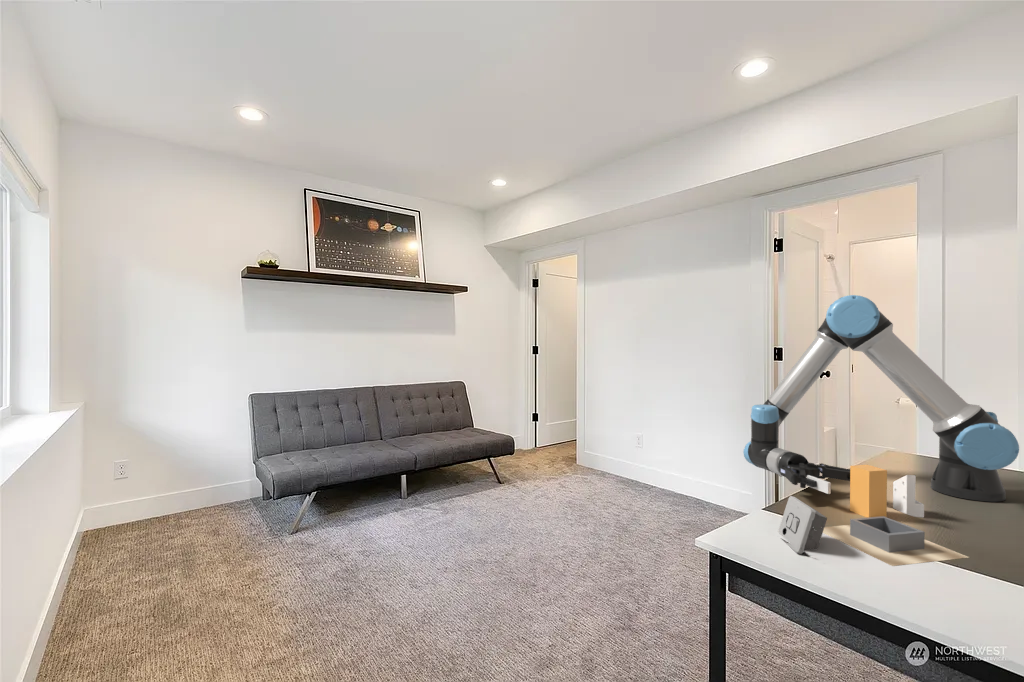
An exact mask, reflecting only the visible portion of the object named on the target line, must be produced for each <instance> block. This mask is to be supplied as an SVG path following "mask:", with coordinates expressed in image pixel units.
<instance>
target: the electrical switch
mask: <svg viewBox="0 0 1024 682" xmlns="http://www.w3.org/2000/svg"><path fill="white" fill-rule="evenodd" d="M827 520H828V517H827V516H825V515H824V514H822V513H821V512H819V511H818V510H816V509H815V508H813V507H812V506H810V505H809V504H806V503H805V502H803V501H802V500H800V499H799V498H797V497H795V496H793V495H789V497H788V498H787V502H786V505H785V509H784V511H783V515H782V517H781V521H780V524H779V527H778V530H777V532H778V534H779V535H781V537H782V538H781V541H783V542H784V543H785V544H786V545H787V546H789V547H790V548H791V549H792V550H793V551H794V552H795V553H796V554H799V555H803V553H804V552H805V550H818V548H819V545H820V542H821V539H822V536H823V534H824V533H823V530H824V527H826V524H827Z"/></svg>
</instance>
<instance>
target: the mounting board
mask: <svg viewBox="0 0 1024 682" xmlns="http://www.w3.org/2000/svg"><path fill="white" fill-rule="evenodd" d="M822 534H824V535H826V536H829V537H830V538H833V539H834V540H837V541H839V542H841V543H843V544H845V545H848V546H850V547H852V548H854V549H856V550H858V551H860V552H862V553H863V554H866V555H869V556H870V557H872V558H874V559H876V560H879V561H881V562H882V563H885V564H887V565H889V566H891V567H897V566H906V565H916V564H923V563H924V564H925V563H933V562H934V563H935V562H942V561H949V560H950V561H951V560H952V561H953V560H959V559H968V558H970V556H967V555H965V554H963V553H960V552H958V551H955V550H953V549H949V548H948V547H944V546H943V545H940V544H937V543H934V542H932V541H930V540H927V539H925V541H924V549H918V550H909V551H899V552H890V553H889V552H887V551H884V550H882V549H880V548H878V547H876V546H873V545H871V544H869V543H867V542H865V541H862V540H860V539H858V538H856V537H854V536H851V535H850V524H845V525H844V524H843V525H834V526H825V527H824V530H823V533H822Z"/></svg>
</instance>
